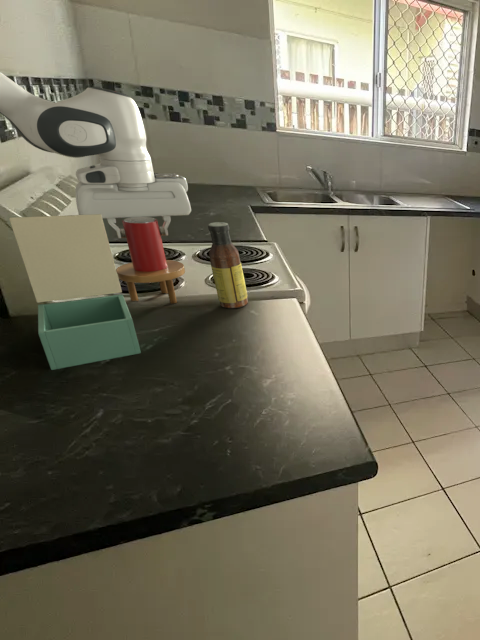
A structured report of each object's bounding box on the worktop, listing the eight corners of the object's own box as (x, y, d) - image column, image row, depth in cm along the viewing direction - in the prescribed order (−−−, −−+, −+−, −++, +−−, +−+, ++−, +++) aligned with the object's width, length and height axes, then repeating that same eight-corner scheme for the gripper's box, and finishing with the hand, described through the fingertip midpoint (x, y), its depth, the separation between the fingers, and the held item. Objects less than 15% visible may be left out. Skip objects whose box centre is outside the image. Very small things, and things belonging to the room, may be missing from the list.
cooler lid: (101, 214, 91) (100, 214, 91) (8, 217, 83) (9, 217, 84) (122, 292, 96) (121, 291, 96) (36, 302, 88) (37, 302, 89)
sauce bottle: (244, 298, 120) (233, 219, 111) (251, 307, 116) (240, 225, 107) (215, 302, 116) (200, 221, 107) (221, 311, 112) (206, 227, 103)
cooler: (141, 356, 90) (132, 319, 87) (52, 373, 82) (38, 333, 79) (131, 328, 100) (122, 294, 96) (50, 342, 92) (37, 304, 88)
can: (126, 268, 109) (114, 219, 104) (152, 262, 115) (141, 215, 110) (149, 273, 108) (137, 224, 103) (174, 266, 113) (164, 219, 109)
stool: (110, 303, 110) (100, 270, 107) (160, 286, 122) (153, 256, 118) (155, 313, 107) (147, 279, 104) (202, 295, 119) (197, 265, 116)
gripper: (182, 171, 111) (193, 230, 117) (66, 170, 98) (85, 236, 104) (188, 175, 107) (199, 235, 112) (67, 174, 94) (87, 243, 100)
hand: (143, 236), depth 108 cm, fingers closed on can, 6 cm apart
